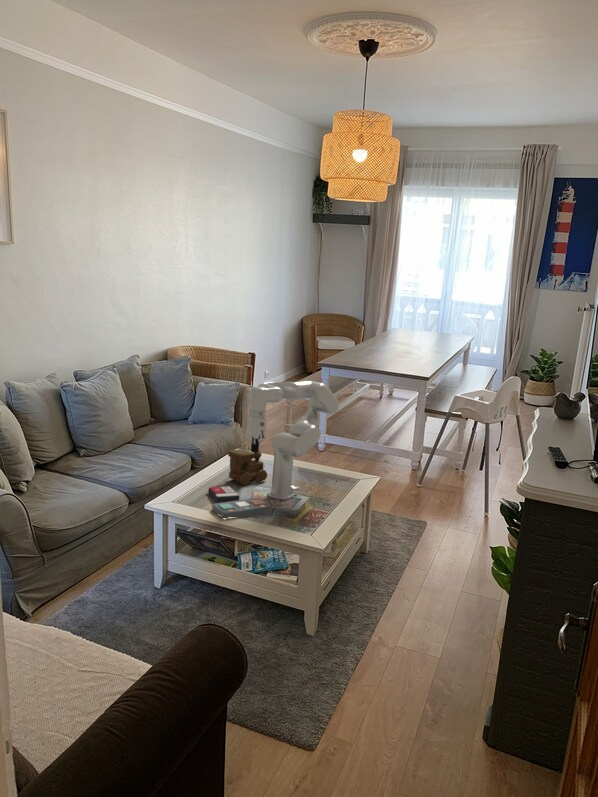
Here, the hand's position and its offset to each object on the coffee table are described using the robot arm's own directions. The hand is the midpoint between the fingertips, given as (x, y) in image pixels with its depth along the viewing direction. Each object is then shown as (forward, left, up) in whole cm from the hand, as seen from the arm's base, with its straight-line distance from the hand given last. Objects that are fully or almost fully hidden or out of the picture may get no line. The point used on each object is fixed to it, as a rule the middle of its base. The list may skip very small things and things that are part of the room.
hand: (254, 451), depth 287 cm
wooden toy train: (-13, -28, -25) cm, 40 cm away
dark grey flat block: (+9, +8, -25) cm, 28 cm away
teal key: (+17, +8, -24) cm, 30 cm away
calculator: (+9, -10, -26) cm, 29 cm away
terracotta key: (+1, +8, -24) cm, 25 cm away
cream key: (+9, +8, -24) cm, 27 cm away
